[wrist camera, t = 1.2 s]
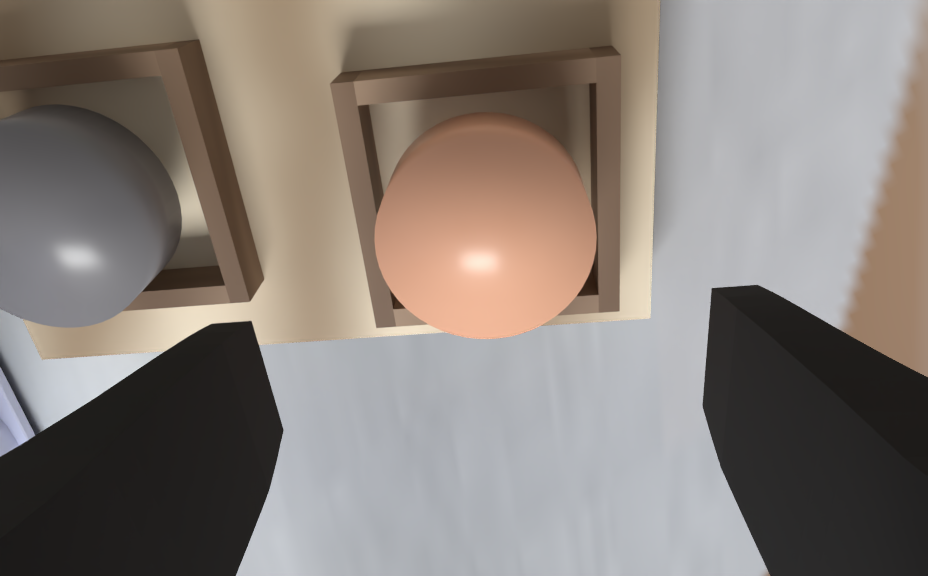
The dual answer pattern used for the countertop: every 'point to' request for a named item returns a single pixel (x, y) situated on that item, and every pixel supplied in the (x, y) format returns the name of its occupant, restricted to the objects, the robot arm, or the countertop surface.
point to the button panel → (335, 141)
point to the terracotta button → (485, 227)
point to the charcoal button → (80, 216)
